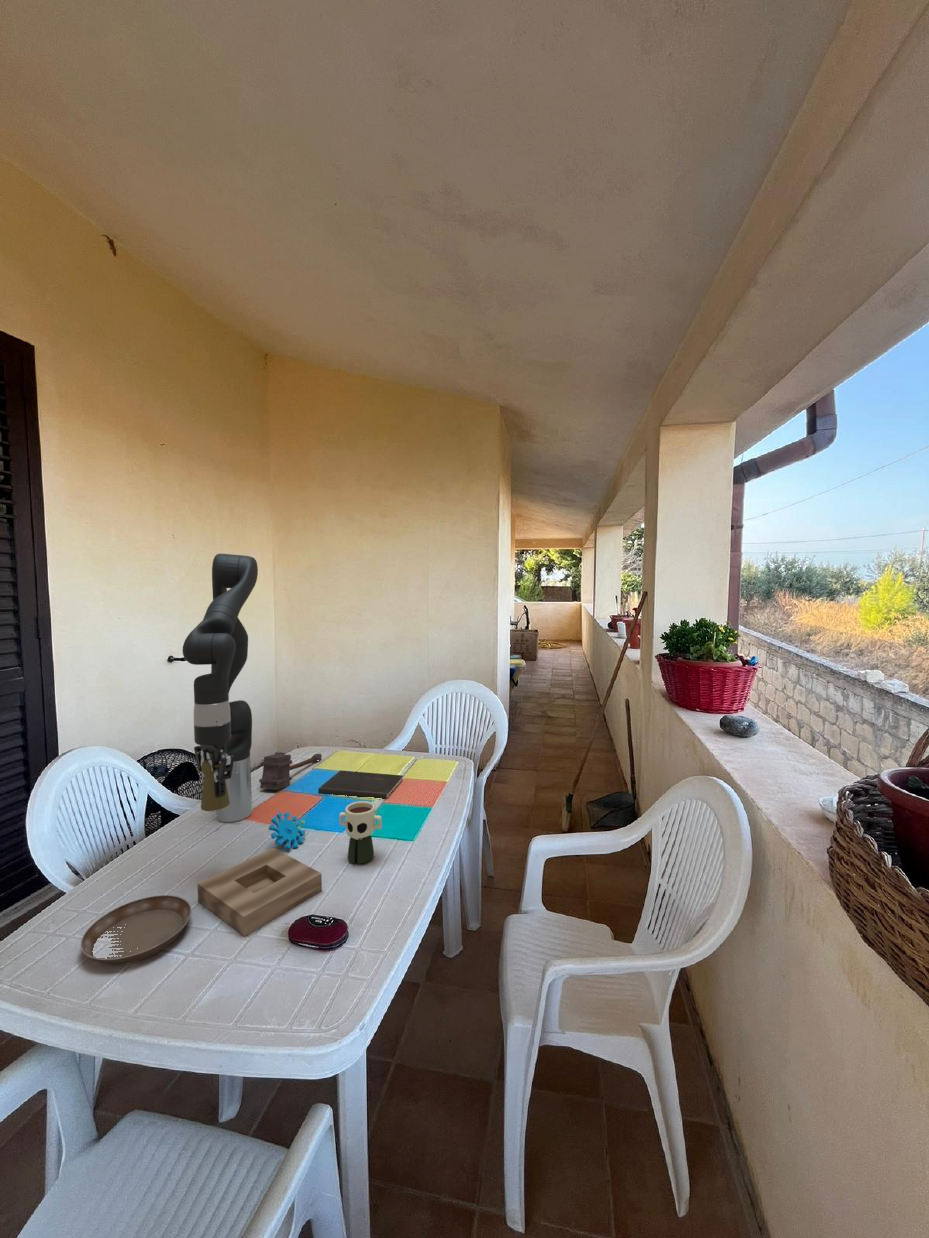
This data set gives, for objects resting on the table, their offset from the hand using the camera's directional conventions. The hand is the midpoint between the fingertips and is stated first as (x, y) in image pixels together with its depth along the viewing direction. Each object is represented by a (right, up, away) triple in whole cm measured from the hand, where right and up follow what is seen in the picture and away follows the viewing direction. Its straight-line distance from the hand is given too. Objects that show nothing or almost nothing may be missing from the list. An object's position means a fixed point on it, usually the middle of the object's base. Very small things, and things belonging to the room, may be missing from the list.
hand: (215, 793), depth 117 cm
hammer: (-2, -15, +62) cm, 64 cm away
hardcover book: (+24, -16, +51) cm, 59 cm away
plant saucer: (-5, -21, -20) cm, 29 cm away
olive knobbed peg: (0, -3, 0) cm, 3 cm away
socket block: (+14, -20, -7) cm, 25 cm away
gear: (+12, -18, +15) cm, 26 cm away
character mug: (+32, -19, +7) cm, 38 cm away
